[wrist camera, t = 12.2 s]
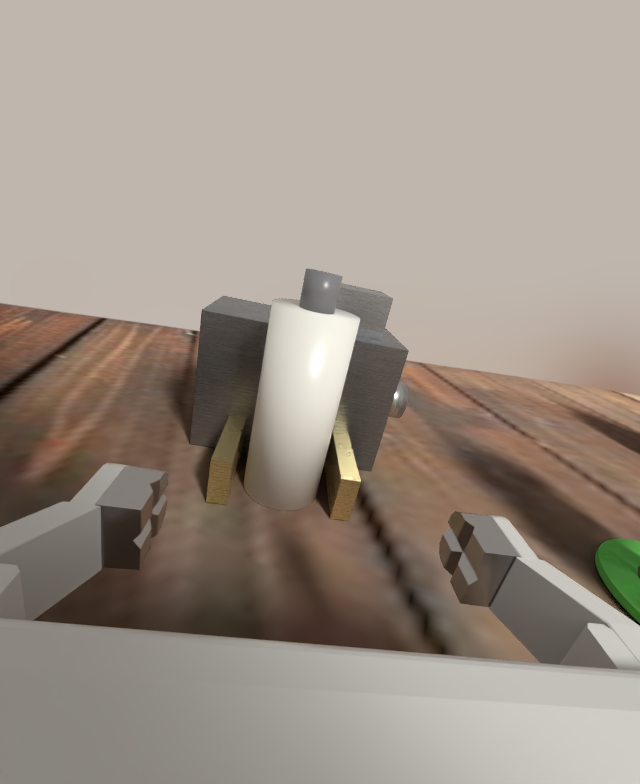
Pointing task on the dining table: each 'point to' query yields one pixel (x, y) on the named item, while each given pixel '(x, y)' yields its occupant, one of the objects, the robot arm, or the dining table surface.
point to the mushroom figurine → (621, 572)
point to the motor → (241, 382)
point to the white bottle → (299, 393)
